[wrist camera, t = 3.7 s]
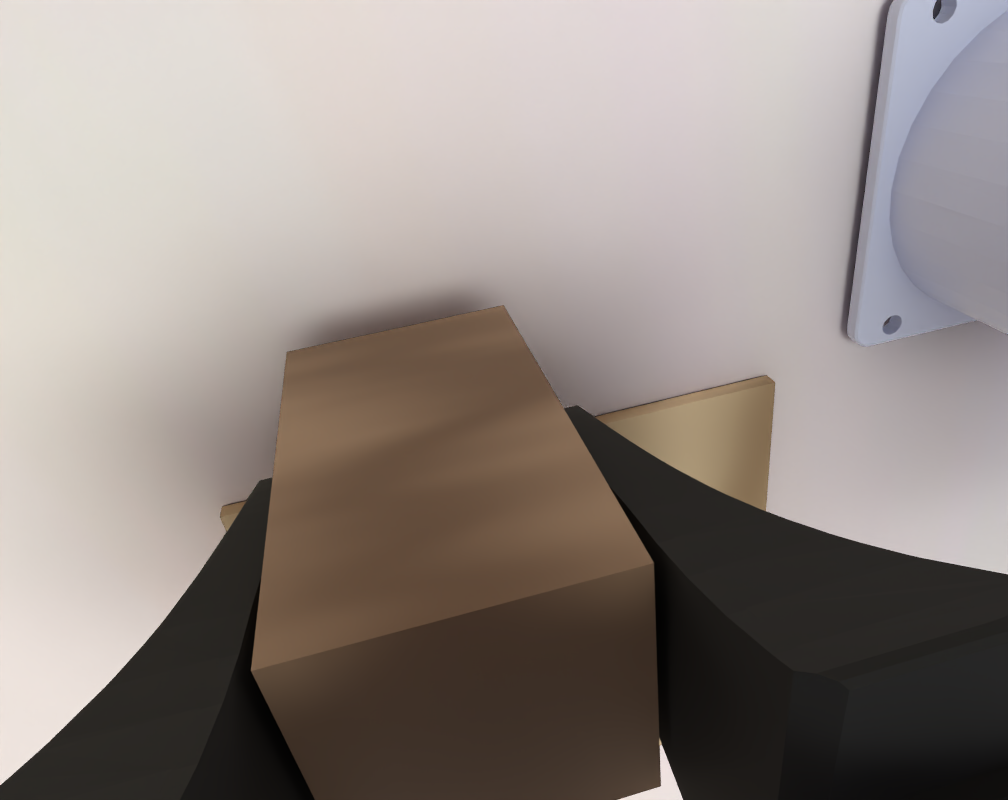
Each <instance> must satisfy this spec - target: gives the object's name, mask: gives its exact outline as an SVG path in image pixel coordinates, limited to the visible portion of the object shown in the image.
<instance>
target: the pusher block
mask: <svg viewBox="0 0 1008 800" xmlns="http://www.w3.org/2000/svg"><path fill="white" fill-rule="evenodd" d="M251 672H252V674H253V676H254V678H255V680H256V682H257V684H258V686H259V688H260V690H261V692H262V694H263V696H264V698H265V700H266V702H267V704H268V706H269V708H270V710H271V712H272V714H273V716H274V718H275V720H276V722H277V724H278V726H279V728H280V730H281V732H282V734H283V736H284V738H285V740H286V742H287V745H288V747H289V749H290V751H291V753H292V755H293V757H294V759H295V761H296V763H297V765H298V767H299V769H300V771H301V773H302V775H303V777H304V779H305V781H306V783H307V785H308V787H309V789H310V791H311V793H312V795H313V797H314V799H315V800H618V799H621V798H624V797H627V796H631V795H634V794H637V793H640V792H644V791H647V790H650V789H653V788H657V787H660V786H661V778H660V745H659V712H658V680H657V647H656V614H655V581H654V562H653V560H652V559H651V557H650V555H649V554H648V552H647V550H646V549H645V547H644V545H643V543H642V542H641V540H640V538H639V537H638V535H637V533H636V531H635V530H634V528H633V526H632V525H631V523H630V521H629V519H628V518H627V516H626V514H625V513H624V511H623V509H622V507H621V506H620V504H619V502H618V501H617V499H616V497H615V495H614V494H613V492H612V490H611V489H610V487H609V485H608V483H607V482H606V480H605V478H604V477H603V475H602V473H601V471H600V470H599V468H598V466H597V465H596V463H595V461H594V460H593V458H592V456H591V454H590V453H589V451H588V449H587V448H586V446H585V444H584V442H583V441H582V439H581V437H580V436H579V434H578V432H577V430H576V429H575V427H574V425H573V424H572V422H571V420H570V418H569V417H568V415H567V413H566V412H565V410H564V408H563V406H562V405H561V403H560V401H559V400H558V398H557V396H556V394H555V393H554V391H553V389H552V388H551V386H550V384H549V382H548V381H547V379H546V377H545V376H544V374H543V372H542V371H541V369H540V367H539V365H538V364H537V362H536V360H535V359H534V357H533V355H532V353H531V352H530V350H529V348H528V347H527V345H526V343H525V341H524V340H523V338H522V336H521V335H520V333H519V331H518V329H517V328H516V326H515V324H514V323H513V321H512V319H511V317H510V316H509V314H508V312H507V311H506V309H505V307H504V305H503V306H498V307H493V308H489V309H484V310H480V311H475V312H470V313H466V314H461V315H456V316H452V317H447V318H442V319H438V320H433V321H429V322H424V323H419V324H415V325H410V326H405V327H401V328H396V329H391V330H387V331H382V332H378V333H373V334H368V335H364V336H359V337H354V338H350V339H345V340H340V341H336V342H331V343H327V344H322V345H317V346H313V347H308V348H303V349H299V350H294V351H289V352H287V354H286V363H285V372H284V381H283V390H282V399H281V408H280V417H279V425H278V434H277V443H276V452H275V461H274V470H273V479H272V488H271V497H270V506H269V514H268V523H267V532H266V541H265V550H264V559H263V568H262V577H261V586H260V595H259V603H258V612H257V621H256V630H255V639H254V648H253V657H252V666H251Z"/></svg>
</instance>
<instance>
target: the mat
mask: <svg viewBox="0 0 1008 800" xmlns="http://www.w3.org/2000/svg"><path fill="white" fill-rule="evenodd" d="M774 392H775V382H774V381H773V380H772V379H771V378H769V377H768V376H767V375H766V376H762V377H758V378H754V379H749V380H745V381H741V382H737V383H733V384H729V385H725V386H720V387H716V388H712V389H708V390H704V391H700V392H696V393H691V394H687V395H683V396H679V397H675V398H671V399H667V400H662V401H658V402H654V403H650V404H646V405H642V406H638V407H633V408H629V409H625V410H621V411H617V412H613V413H609V414H604V415H600V416H596V417H595V418H597V419H598V420H600V421H601V422H603V423H604V424H606V425H607V426H608V427H610V428H611V429H613V430H614V431H616V432H617V433H619V434H620V435H622V436H623V437H625V438H626V439H628V440H629V441H631V442H633V443H634V444H636V445H637V446H639V447H640V448H642V449H644V450H645V451H647V452H648V453H650V454H652V455H653V456H655V457H657V458H658V459H660V460H662V461H663V462H665V463H667V464H669V465H670V466H672V467H674V468H676V469H677V470H679V471H681V472H683V473H685V474H687V475H689V476H691V477H692V478H694V479H696V480H698V481H700V482H702V483H704V484H706V485H708V486H710V487H712V488H714V489H716V490H718V491H720V492H722V493H724V494H726V495H729V496H731V497H733V498H736V499H738V500H740V501H743V502H745V503H747V504H750V505H752V506H754V507H757V508H759V509H761V510H764V511H766V501H767V487H768V474H769V460H770V447H771V433H772V419H773V406H774ZM245 502H246V501H244V502H240V503H236V504H231V505H227V506H223V507H222V510H221V515H220V518H221V521H222V523H223V525H224V527H225V529H226V532H227V531H228V529H229V528H230V526H231V524H232V523H233V521H234V520H235V518H236V517H237V515H238V513H239V512H240V510H241V509H242V507H243V506H244V504H245ZM659 745H662V743H661V741H660V738H659Z"/></svg>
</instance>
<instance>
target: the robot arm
mask: <svg viewBox="0 0 1008 800" xmlns="http://www.w3.org/2000/svg"><path fill="white" fill-rule="evenodd" d="M936 1H937V0H893V2H892V4H891V5H890V9H889V12H888V16H887V23H886V31H885V39H884V47H883V54H882V62H881V70H880V78H879V85H878V93H877V101H876V109H875V116H874V124H873V132H872V140H871V147H870V155H869V163H868V171H867V178H866V186H865V194H864V202H863V209H862V217H861V225H860V232H859V240H858V248H857V256H856V263H855V271H854V279H853V287H852V294H851V302H850V310H849V318H848V325H847V333H848V336H849V337H850V339H851V340H853V341H854V342H856V343H857V344H859V345H861V346H873V345H877V344H881V343H885V342H890V341H894V340H898V339H902V338H906V337H910V336H915V335H919V334H923V333H927V332H931V331H935V330H940V329H944V328H948V327H952V326H956V325H960V324H964V323H969V322H973V321H977V320H978V321H980V322H982V323H984V324H986V325H988V326H990V327H992V328H995V329H997V330H999V331H1001V332H1003V333H1005V334H1007V335H1008V0H941V2H942V7H941V10H940V12H939V14H938V16H937V17H936V18H935V19H933V8H934V5H935V2H936ZM889 317H891V318H890V320H889V322H888V323H887V324H886V325H885V326H884V327H883V325H884V322H885V321H886V320H887V319H888V318H889ZM564 410H565V412H566V413H567V415H568V417H569V418H570V420H571V422H572V424H573V425H574V427H575V429H576V430H577V432H578V434H579V436H580V437H581V439H582V441H583V442H584V444H585V446H586V448H587V449H588V451H589V453H590V454H591V456H592V458H593V460H594V461H595V463H596V465H597V466H598V468H599V470H600V471H601V473H602V475H603V477H604V478H605V480H606V482H607V483H608V485H609V487H610V489H611V490H612V492H613V494H614V495H615V497H616V499H617V501H618V502H619V504H620V506H621V507H622V509H623V511H624V513H625V514H626V516H627V518H628V519H629V521H630V523H631V525H632V526H633V528H634V530H635V531H636V533H637V535H638V537H639V538H640V540H641V542H642V543H643V545H644V547H645V549H646V550H647V552H648V554H649V555H650V557H651V559H652V560H653V562H654V581H655V614H656V647H657V680H658V712H659V738H660V741H661V743H662V746H663V748H664V751H665V754H666V756H667V759H668V761H669V764H670V767H671V769H672V772H673V774H674V777H675V779H676V782H677V785H678V787H679V790H680V792H681V795H682V798H683V800H1008V575H1007V574H1002V573H997V572H992V571H986V570H981V569H976V568H971V567H965V566H960V565H955V564H950V563H944V562H939V561H934V560H929V559H923V558H919V557H914V556H910V555H906V554H902V553H898V552H894V551H890V550H886V549H882V548H879V547H875V546H871V545H867V544H863V543H859V542H856V541H853V540H849V539H846V538H842V537H839V536H835V535H832V534H829V533H826V532H823V531H820V530H817V529H814V528H811V527H808V526H805V525H802V524H799V523H796V522H793V521H790V520H787V519H785V518H782V517H779V516H777V515H774V514H771V513H769V512H766V511H764V510H761V509H759V508H757V507H754V506H752V505H750V504H747V503H745V502H743V501H740V500H738V499H736V498H733V497H731V496H729V495H726V494H724V493H722V492H720V491H718V490H716V489H714V488H712V487H710V486H708V485H706V484H704V483H702V482H700V481H698V480H696V479H694V478H692V477H691V476H689V475H687V474H685V473H683V472H681V471H679V470H677V469H676V468H674V467H672V466H670V465H669V464H667V463H665V462H663V461H662V460H660V459H658V458H657V457H655V456H653V455H652V454H650V453H648V452H647V451H645V450H644V449H642V448H640V447H639V446H637V445H636V444H634V443H633V442H631V441H629V440H628V439H626V438H625V437H623V436H622V435H620V434H619V433H617V432H616V431H614V430H613V429H611V428H610V427H608V426H607V425H606V424H604V423H603V422H601V421H600V420H598V419H597V418H595V417H594V416H592V415H591V414H589V413H588V412H586V411H585V410H583V409H582V408H580V407H579V406H573V407H569V408H565V409H564ZM272 479H273V478H269V479H264V480H260V481H259V483H258V484H257V486H256V487H255V489H254V490H253V492H252V493H251V495H250V496H249V498H248V499H247V501H246V502H245V504H244V506H243V507H242V509H241V510H240V512H239V513H238V515H237V517H236V518H235V520H234V521H233V523H232V524H231V526H230V528H229V529H228V531H227V532H226V534H225V535H224V537H223V539H222V540H221V542H220V543H219V545H218V546H217V548H216V549H215V551H214V552H213V553H212V555H211V556H210V558H209V559H208V561H207V562H206V564H205V565H204V567H203V568H202V570H201V571H200V573H199V574H198V576H197V577H196V578H195V580H194V581H193V582H192V584H191V585H190V586H189V588H188V589H187V590H186V592H185V593H184V594H183V596H182V597H181V598H180V600H179V601H178V602H177V604H176V605H175V606H174V608H173V609H172V610H171V612H170V613H169V614H168V616H167V617H166V618H165V620H164V621H163V622H162V623H161V625H160V626H159V627H158V628H157V630H156V631H155V632H154V633H153V634H152V635H151V637H150V638H149V639H148V640H147V641H146V643H145V644H144V645H143V646H142V647H141V648H140V649H139V651H138V652H137V653H136V654H135V655H134V656H133V657H132V658H131V659H130V661H129V662H128V663H127V664H126V665H125V666H124V667H123V668H122V669H121V671H120V672H119V673H118V674H117V675H116V676H115V677H114V678H113V679H112V680H111V681H110V682H109V684H108V685H107V686H106V687H105V688H104V689H103V690H102V691H101V692H100V693H99V694H98V695H97V696H96V697H95V698H94V699H93V700H91V701H90V702H89V703H88V704H87V705H86V706H85V707H84V708H83V709H82V710H81V711H80V712H79V713H78V714H77V715H76V716H75V717H74V718H73V719H72V720H71V721H70V722H69V723H68V724H67V725H66V726H65V727H64V728H63V729H62V730H61V731H60V732H59V733H58V734H57V735H56V736H55V737H54V738H53V739H52V740H51V741H50V742H49V743H48V744H46V745H45V746H44V747H43V748H42V749H41V750H40V751H39V752H38V753H37V754H35V755H34V756H33V757H32V758H31V759H30V760H29V761H28V762H26V763H25V764H24V765H23V766H22V767H21V768H20V769H19V770H17V771H16V772H15V773H14V774H13V775H12V776H11V777H10V778H8V779H7V780H6V781H5V782H4V783H3V784H1V785H0V800H315V799H314V797H313V795H312V793H311V791H310V789H309V787H308V785H307V783H306V781H305V779H304V777H303V775H302V773H301V771H300V769H299V767H298V765H297V763H296V761H295V759H294V757H293V755H292V753H291V751H290V749H289V747H288V745H287V742H286V740H285V738H284V736H283V734H282V732H281V730H280V728H279V726H278V724H277V722H276V720H275V718H274V716H273V714H272V712H271V710H270V708H269V706H268V704H267V702H266V700H265V698H264V696H263V694H262V692H261V690H260V688H259V686H258V684H257V682H256V680H255V678H254V676H253V674H252V672H251V666H252V657H253V648H254V639H255V630H256V621H257V612H258V603H259V595H260V586H261V577H262V568H263V559H264V550H265V541H266V532H267V523H268V514H269V506H270V497H271V488H272Z"/></svg>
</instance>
